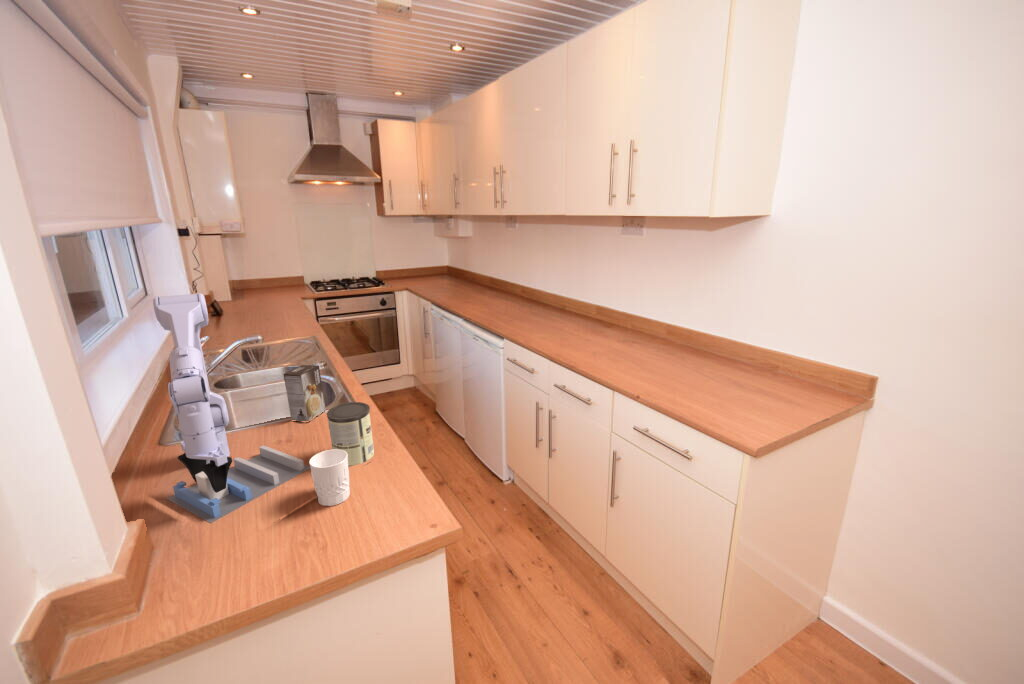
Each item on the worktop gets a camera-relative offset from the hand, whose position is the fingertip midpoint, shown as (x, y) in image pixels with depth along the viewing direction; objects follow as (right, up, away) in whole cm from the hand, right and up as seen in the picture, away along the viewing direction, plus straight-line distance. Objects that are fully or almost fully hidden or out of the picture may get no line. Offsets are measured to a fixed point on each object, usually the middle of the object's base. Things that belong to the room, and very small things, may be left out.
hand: (210, 485), depth 99 cm
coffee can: (+26, +1, +18) cm, 31 cm away
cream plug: (0, -3, +1) cm, 3 cm away
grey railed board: (+3, -2, +7) cm, 8 cm away
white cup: (+27, -3, +2) cm, 27 cm away
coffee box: (+2, +8, +44) cm, 45 cm away
